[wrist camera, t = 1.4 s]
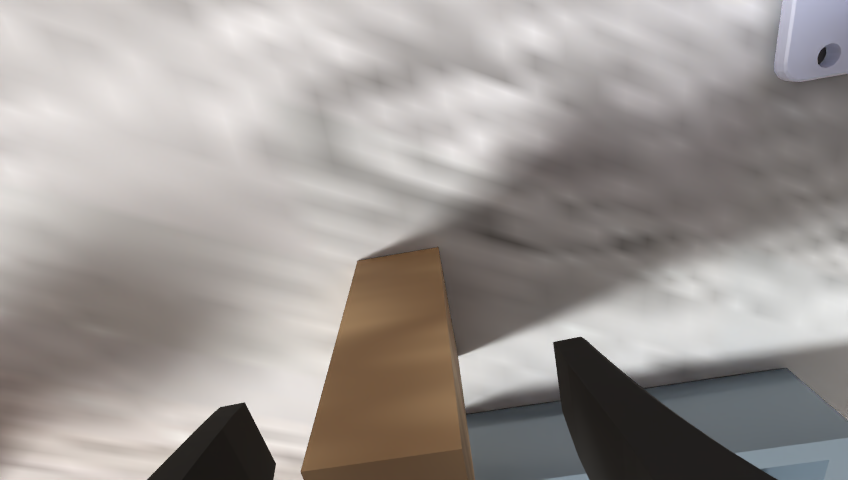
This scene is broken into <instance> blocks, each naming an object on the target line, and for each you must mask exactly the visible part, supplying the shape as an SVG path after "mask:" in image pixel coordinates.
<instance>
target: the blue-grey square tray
mask: <svg viewBox="0 0 848 480" xmlns="http://www.w3.org/2000/svg"><path fill="white" fill-rule="evenodd" d="M645 390H646V391H647V392H648V393H650V394H651V395H652V396H654V397H655V398H656V399H658V400H659V401H660V402H661V403H663V404H664V405H665V406H667V407H668V408H669V409H671V410H672V411H673V412H675V413H676V414H678V415H679V416H680V417H682V418H683V419H685V420H686V421H687V422H689V423H690V424H692V425H693V426H695V427H696V428H697V429H699V430H700V431H702V432H703V433H705V434H706V435H707V436H709V437H710V438H712V439H713V440H715V441H716V442H718V443H719V444H721V445H722V446H724V447H726V448H727V449H729V450H730V451H732V452H733V453H735V454H736V455H738V456H740V457H741V458H743V459H744V460H746V461H748V462H749V463H751V464H753V465H754V466H756V467H757V468H759V469H761V470H762V471H764V472H766V473H767V474H769V475H771V476H772V477H774V478H776V479H778V480H848V420H846V419H845V418H844V417H843V416H842V415H841V414H839V413H838V412H837V411H836V410H835V409H834V408H833V407H831V406H830V405H829V404H828V403H827V402H826V401H824V400H823V399H822V398H821V397H820V396H819V395H817V394H816V393H815V392H814V391H813V390H812V389H810V388H809V387H808V386H807V385H806V384H805V383H803V382H802V381H801V380H800V379H799V378H798V377H796V376H795V375H794V374H793V373H792V372H791V371H789V370H788V369H787V368H783V369H776V370H769V371H762V372H755V373H748V374H742V375H735V376H728V377H721V378H714V379H707V380H700V381H694V382H687V383H680V384H673V385H666V386H659V387H652V388H646V389H645ZM466 419H467V426H468V433H469V440H470V448H471V455H472V462H473V469H474V476H475V480H589V478H588V476H587V474H586V472H585V470H584V467H583V465H582V463H581V461H580V459H579V457H578V454H577V452H576V449H575V446H574V443H573V440H572V438H571V435H570V432H569V429H568V426H567V423H566V421H565V418H564V415H563V412H562V406H561V401H556V402H550V403H543V404H536V405H529V406H522V407H515V408H508V409H502V410H495V411H488V412H481V413H474V414H467V415H466Z"/></svg>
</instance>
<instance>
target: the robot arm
mask: <svg viewBox="0 0 848 480" xmlns="http://www.w3.org/2000/svg"><path fill="white" fill-rule="evenodd" d="M824 47H826V56H825V58H824V60H823V61H822V62H821V63H820V64H818V60H817V57H818V55H819V53H820V51H821V50H822V49H823V48H824ZM774 70H775V73H776V75H777V76H778V78H780V79H782V80H784V81H793V82H803V81H809V80H815V79H820V78H826V77H831V76H837V75H843V74H848V0H783V1H782V9H781V16H780V23H779V31H778V38H777V45H776V53H775V60H774ZM553 344H554V352H555V359H556V367H557V375H558V383H559V390H560V398H561V406H562V412H563V415H564V418H565V421H566V423H567V426H568V429H569V432H570V435H571V438H572V440H573V443H574V446H575V449H576V452H577V454H578V457H579V459H580V461H581V463H582V465H583V467H584V470H585V472H586V474H587V476H588V478H589V480H778V479H776V478H774V477H772V476H771V475H769V474H767V473H766V472H764V471H762V470H761V469H759V468H757V467H756V466H754V465H753V464H751V463H749V462H748V461H746V460H744V459H743V458H741V457H740V456H738V455H736V454H735V453H733V452H732V451H730V450H729V449H727V448H726V447H724V446H722V445H721V444H719V443H718V442H716V441H715V440H713V439H712V438H710V437H709V436H707V435H706V434H705V433H703V432H702V431H700V430H699V429H697V428H696V427H695V426H693V425H692V424H690V423H689V422H687V421H686V420H685V419H683V418H682V417H680V416H679V415H678V414H676V413H675V412H673V411H672V410H671V409H669V408H668V407H667V406H665V405H664V404H663V403H661V402H660V401H659V400H658V399H656V398H655V397H654V396H652V395H651V394H650V393H648V392H647V391H646V390H645V389H643V388H642V387H641V386H639V385H638V384H637V383H636V382H634V381H633V380H632V379H631V378H629V377H628V376H627V375H626V374H625V373H623V372H622V371H621V370H620V369H619V368H617V367H616V366H615V365H614V364H613V363H611V362H610V361H609V360H608V359H607V358H606V357H605V356H603V355H602V354H601V353H600V352H599V351H598V350H597V349H595V348H594V347H593V346H592V345H591V344H590V343H589V342H588V341H587V340H585V339H584V338H582V337H577V338H572V339H567V340H562V341H556V342H553ZM275 466H276V463H275V461H274V459H273V457H272V455H271V453H270V451H269V449H268V447H267V445H266V443H265V441H264V440H263V438H262V436H261V434H260V432H259V430H258V428H257V426H256V424H255V422H254V420H253V418H252V416H251V414H250V412H249V410H248V408H247V406H246V404H245V403H240V404H234V405H229V406H224V407H220V408H219V409H218V410H217V411H215V412H214V413H213V414H212V415H211V416H210V417H209V418H208V419H207V420H206V421H205V422H204V423H203V424H202V425H201V426H200V427H199V428H198V429H197V430H196V431H195V432H194V433H193V434H192V435H191V436H190V437H189V438H188V439H187V440H186V441H185V442H184V443H183V444H182V445H181V446H180V447H179V448H178V449H177V450H176V451H175V452H174V453H173V454H172V455H171V456H170V457H169V458H168V459H167V460H166V461H165V462H164V463H163V464H162V465H161V466H160V467H159V468H158V469H157V470H156V471H155V472H154V473H153V474H152V475H151V476H150V477H149V478H148V479H147V480H273V478H274V472H275Z"/></svg>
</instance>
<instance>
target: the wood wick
mask: <svg viewBox="0 0 848 480" xmlns="http://www.w3.org/2000/svg"><path fill="white" fill-rule="evenodd" d="M301 474H302V476H303V479H304V480H475V476H474V469H473V462H472V455H471V448H470V440H469V433H468V426H467V419H466V412H465V404H464V397H463V390H462V383H461V376H460V368H459V361H458V354H457V349H456V343H455V338H454V332H453V326H452V321H451V315H450V310H449V304H448V298H447V293H446V287H445V282H444V276H443V270H442V265H441V259H440V254H439V248H438V247H437V248H431V249H425V250H419V251H413V252H407V253H401V254H395V255H389V256H383V257H377V258H371V259H365V260H359V261H357V265H356V269H355V273H354V276H353V280H352V284H351V287H350V291H349V295H348V298H347V302H346V306H345V310H344V313H343V317H342V321H341V324H340V328H339V332H338V335H337V339H336V343H335V347H334V350H333V354H332V358H331V361H330V365H329V369H328V372H327V376H326V380H325V384H324V387H323V391H322V395H321V398H320V402H319V406H318V409H317V413H316V417H315V421H314V424H313V428H312V432H311V435H310V439H309V443H308V446H307V450H306V454H305V458H304V461H303V465H302V469H301Z"/></svg>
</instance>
